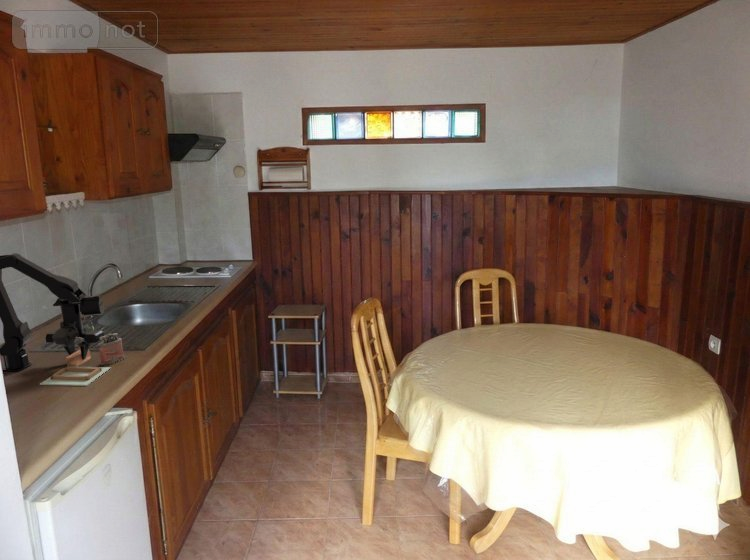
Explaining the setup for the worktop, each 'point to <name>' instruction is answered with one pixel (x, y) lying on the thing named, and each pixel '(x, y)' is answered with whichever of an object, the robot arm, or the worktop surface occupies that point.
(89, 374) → the mat
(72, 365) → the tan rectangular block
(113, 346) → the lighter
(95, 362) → the worktop surface
